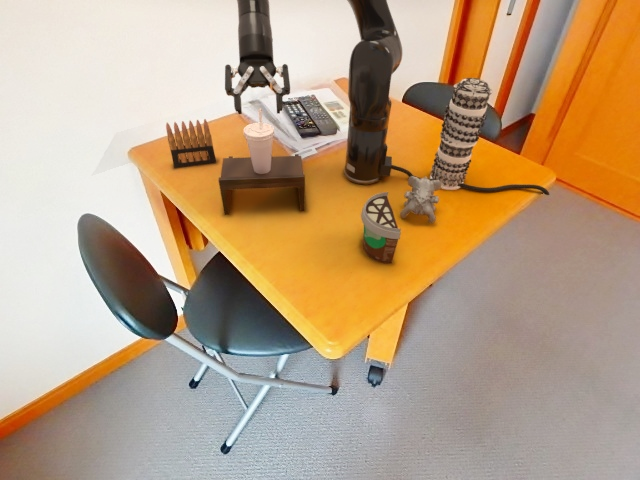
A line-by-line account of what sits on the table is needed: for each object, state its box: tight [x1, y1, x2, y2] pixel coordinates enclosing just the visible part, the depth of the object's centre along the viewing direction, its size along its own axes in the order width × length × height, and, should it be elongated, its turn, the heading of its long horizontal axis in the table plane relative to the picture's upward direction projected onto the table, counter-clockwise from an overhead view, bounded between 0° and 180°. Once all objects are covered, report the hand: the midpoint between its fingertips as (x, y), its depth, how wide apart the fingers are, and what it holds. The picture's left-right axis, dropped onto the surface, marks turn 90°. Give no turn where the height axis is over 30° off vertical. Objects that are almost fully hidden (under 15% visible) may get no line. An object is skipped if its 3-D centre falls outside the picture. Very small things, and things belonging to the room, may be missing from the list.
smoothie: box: [243, 108, 275, 174], centre depth 84 cm, size 6×6×14 cm
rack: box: [218, 153, 306, 216], centre depth 94 cm, size 18×21×9 cm
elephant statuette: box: [399, 175, 442, 224], centre depth 90 cm, size 9×12×8 cm
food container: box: [360, 191, 402, 264], centre depth 79 cm, size 12×6×10 cm, turn 5°
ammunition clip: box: [165, 118, 217, 169], centre depth 100 cm, size 11×2×12 cm, turn 106°
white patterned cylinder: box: [429, 77, 494, 191], centre depth 93 cm, size 9×9×25 cm
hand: (259, 112), depth 88 cm, fingers open, 8 cm apart
